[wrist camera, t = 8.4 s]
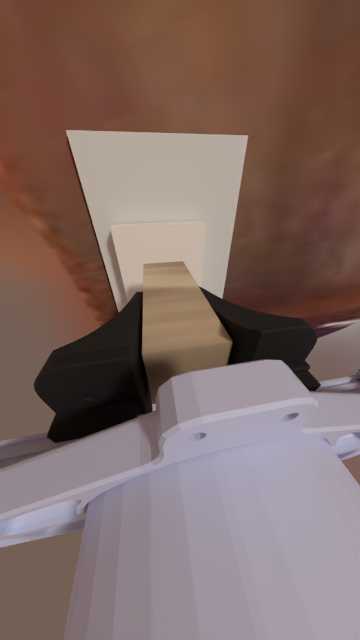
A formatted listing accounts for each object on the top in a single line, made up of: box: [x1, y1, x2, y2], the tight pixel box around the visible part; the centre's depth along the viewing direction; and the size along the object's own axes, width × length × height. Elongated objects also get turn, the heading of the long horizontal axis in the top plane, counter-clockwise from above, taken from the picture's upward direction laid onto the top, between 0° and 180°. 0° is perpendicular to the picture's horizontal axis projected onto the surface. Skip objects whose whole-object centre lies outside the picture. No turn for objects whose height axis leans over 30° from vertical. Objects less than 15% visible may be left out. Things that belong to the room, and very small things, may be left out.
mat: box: [66, 130, 248, 312], centre depth 17 cm, size 17×13×1 cm
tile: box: [110, 221, 206, 302], centre depth 17 cm, size 8×2×8 cm
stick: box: [142, 261, 233, 403], centre depth 10 cm, size 3×3×9 cm
